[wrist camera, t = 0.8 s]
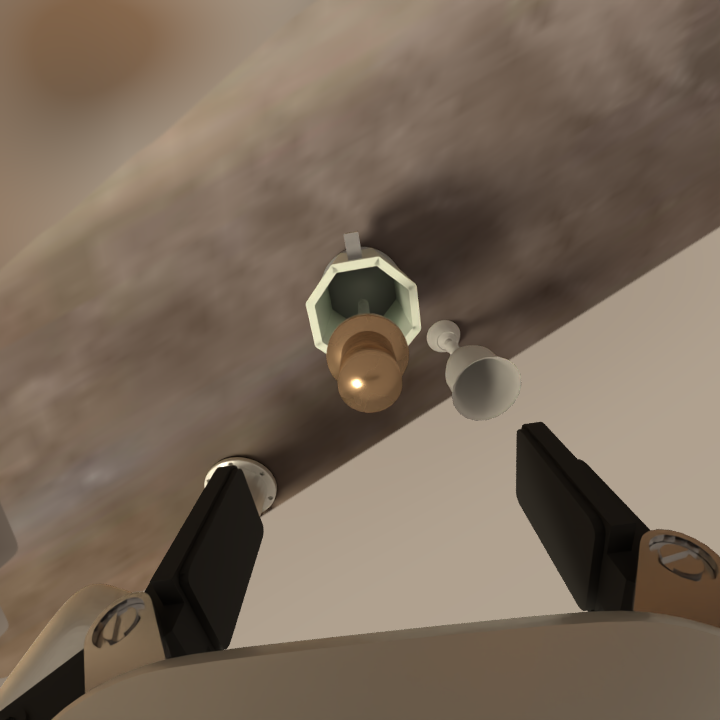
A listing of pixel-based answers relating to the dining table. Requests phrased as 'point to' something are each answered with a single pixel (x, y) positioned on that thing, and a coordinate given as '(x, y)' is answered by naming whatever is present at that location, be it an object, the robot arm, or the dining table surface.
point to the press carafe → (362, 292)
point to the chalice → (475, 374)
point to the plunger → (368, 360)
